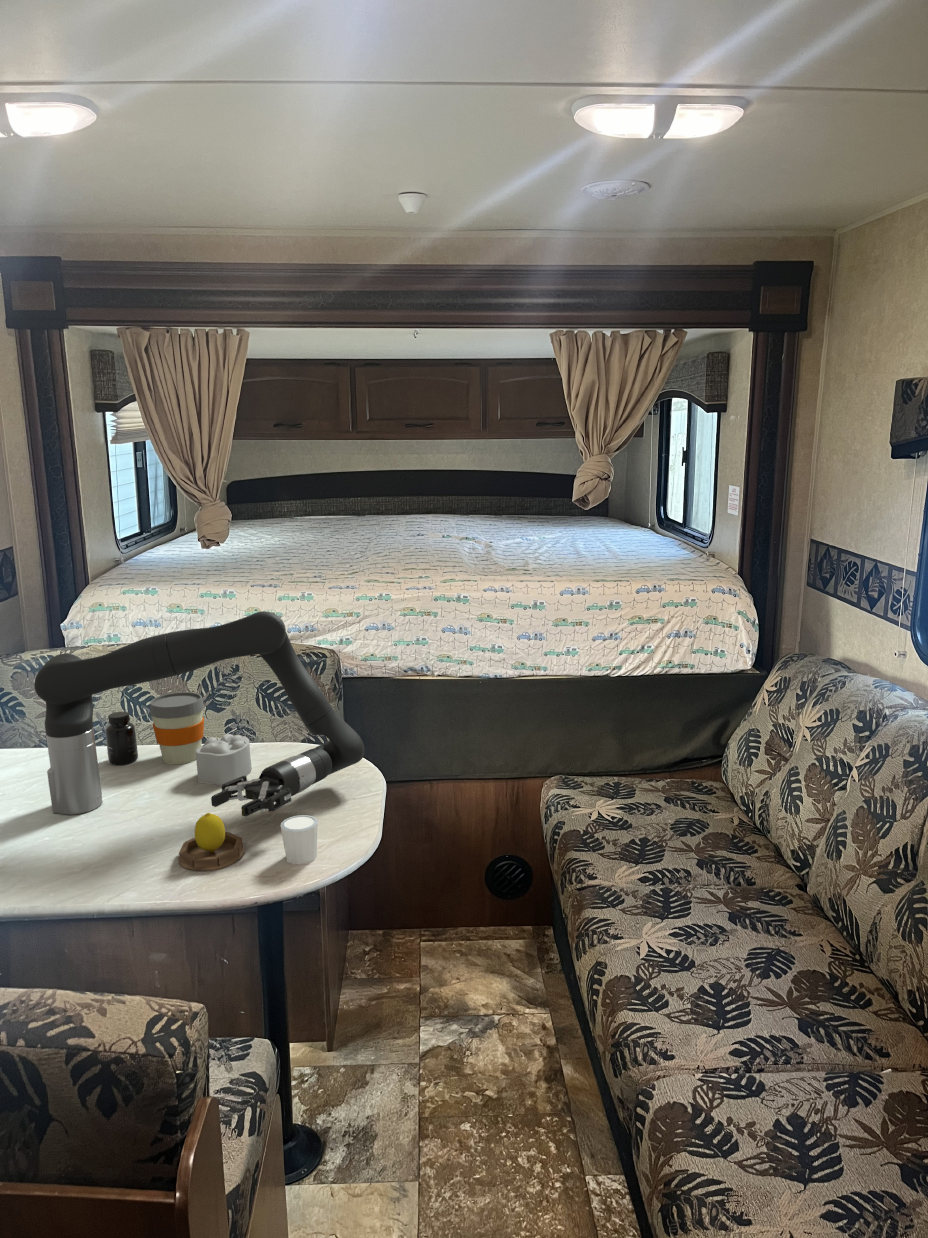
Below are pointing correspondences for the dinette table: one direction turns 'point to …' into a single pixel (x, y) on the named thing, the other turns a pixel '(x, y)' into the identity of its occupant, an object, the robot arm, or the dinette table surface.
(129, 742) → the supplement bottle
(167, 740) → the reusable coffee cup
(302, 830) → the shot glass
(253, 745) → the dinette table surface
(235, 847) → the ring dish
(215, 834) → the lemon
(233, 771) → the lumpy-topped squat cylinder
